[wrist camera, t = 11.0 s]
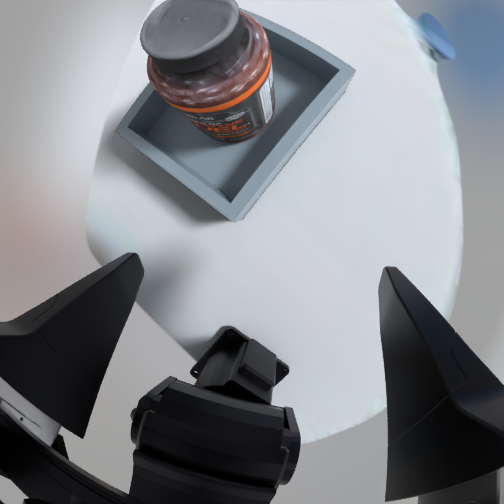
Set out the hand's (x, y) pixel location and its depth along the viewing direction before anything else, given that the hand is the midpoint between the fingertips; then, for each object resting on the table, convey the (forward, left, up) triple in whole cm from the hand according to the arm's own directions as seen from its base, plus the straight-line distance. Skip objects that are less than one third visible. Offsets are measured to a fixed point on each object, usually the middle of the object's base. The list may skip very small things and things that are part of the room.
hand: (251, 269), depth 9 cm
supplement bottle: (+6, +8, -10) cm, 14 cm away
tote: (+6, +8, -11) cm, 15 cm away
